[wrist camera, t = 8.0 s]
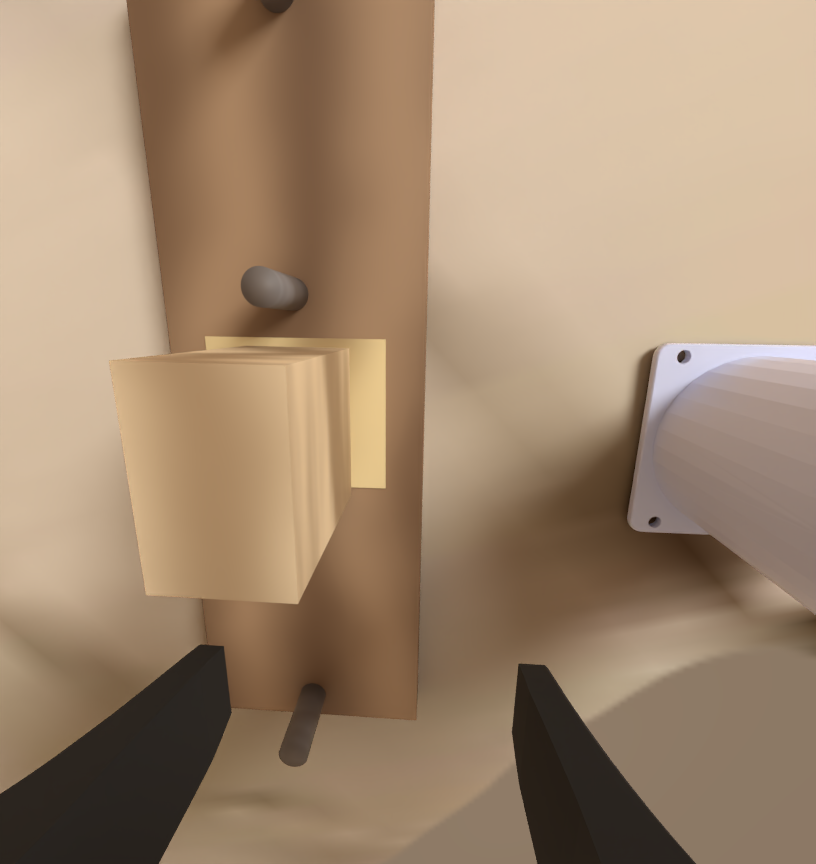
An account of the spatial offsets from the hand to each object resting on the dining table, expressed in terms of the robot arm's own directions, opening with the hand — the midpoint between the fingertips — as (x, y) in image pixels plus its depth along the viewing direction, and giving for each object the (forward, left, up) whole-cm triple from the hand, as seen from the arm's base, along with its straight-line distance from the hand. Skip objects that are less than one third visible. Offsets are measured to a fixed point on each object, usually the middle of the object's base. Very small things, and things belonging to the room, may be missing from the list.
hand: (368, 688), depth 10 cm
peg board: (+4, -5, -9) cm, 11 cm away
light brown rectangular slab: (+4, -5, -8) cm, 10 cm away
